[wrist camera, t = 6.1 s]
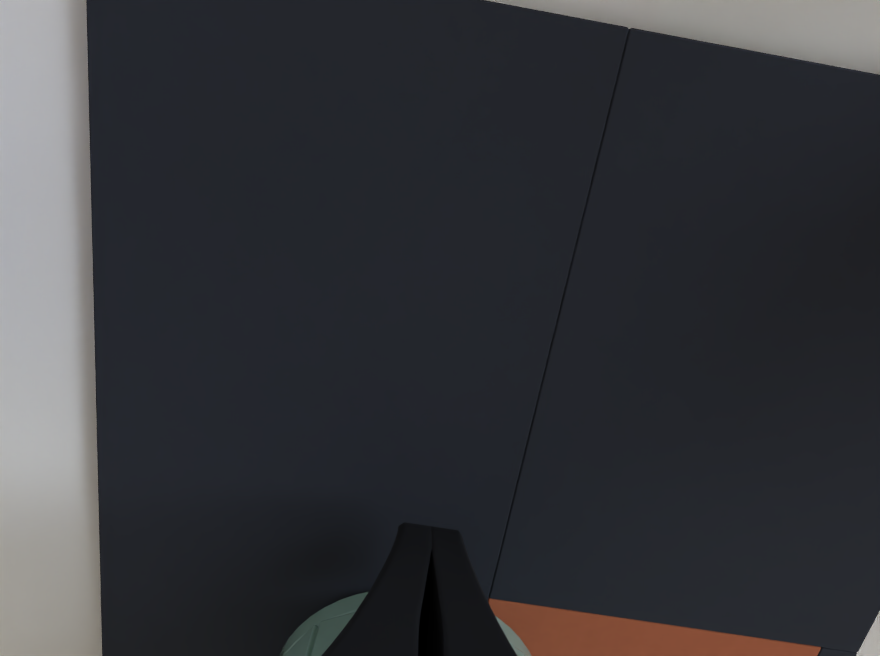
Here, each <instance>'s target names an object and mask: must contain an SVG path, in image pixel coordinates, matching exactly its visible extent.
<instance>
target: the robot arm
mask: <svg viewBox="0 0 880 656" xmlns="http://www.w3.org/2000/svg"><path fill="white" fill-rule="evenodd" d="M321 656H517V654H516V653H515V651H514V649H513V648H512V646H511V644H510V642H509V641H508V639H507V637H506V635H505V634H504V632H503V630H502V628H501V626H500V624H499V623H498V621H497V619H496V617H495V615H494V613H493V611H492V609H491V607H490V605H489V603H488V601H487V598H486V596H485V594H484V592H483V590H482V588H481V586H480V583H479V581H478V579H477V576H476V574H475V571H474V569H473V566H472V564H471V561H470V559H469V556H468V553H467V550H466V547H465V544H464V541H463V537H462V535H461V533H460V532H459V531H458V530H453V529H446V528H440V527H433V526H426V525H419V524H413V523H406V522H404V523H402V524H401V525H399V527H398V532H397V536H396V539H395V542H394V544H393V547H392V549H391V551H390V554H389V556H388V558H387V560H386V562H385V564H384V566H383V568H382V569H381V571H380V573H379V575H378V577H377V578H376V580H375V582H374V584H373V586H372V587H371V589H370V591H369V592H368V594H367V595H366V597H365V598H364V600H363V601H362V603H361V604H360V606H359V607H358V609H357V610H356V612H355V613H354V615H353V616H352V618H351V619H350V620H349V622H348V623H347V624H346V626H345V627H344V628H343V630H342V631H341V632H340V634H339V635H338V636H337V637H336V639H335V640H334V641H333V642H332V644H331V645H330V646H329V647H328V649H327V650H326V651H325V652H324V653H323V654H322V655H321Z"/></svg>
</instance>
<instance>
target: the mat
mask: <svg viewBox="0 0 880 656" xmlns="http://www.w3.org/2000/svg"><path fill="white" fill-rule="evenodd" d="M87 40H88V81H89V122H90V163H91V205H92V246H93V287H94V328H95V369H96V410H97V452H98V493H99V534H100V575H101V616H102V656H279V655H280V652H281V650H282V648H283V647H284V645H285V643H286V642H287V640H288V639H289V637H290V636H291V635H292V634H293V633H294V631H295V630H296V629H297V628H298V627H299V626H300V625H301V624H302V623H303V622H305V621H306V620H307V619H308V618H309V617H310V616H312V615H313V614H315V613H316V612H318V611H319V610H321V609H322V608H324V607H326V606H328V605H330V604H332V603H334V602H336V601H338V600H341V599H344V598H347V597H350V596H352V595H355V594H359V593H364V592H369V591H370V589H371V587H372V586H373V584H374V582H375V580H376V578H377V577H378V575H379V573H380V571H381V569H382V568H383V566H384V564H385V562H386V560H387V558H388V556H389V554H390V551H391V549H392V547H393V544H394V542H395V539H396V536H397V532H398V527H399V525H401V524H402V523H404V522H406V523H413V524H419V525H426V526H433V527H440V528H446V529H453V530H458V531H459V532H460V533H461V535H462V537H463V541H464V544H465V547H466V550H467V553H468V556H469V559H470V561H471V564H472V566H473V569H474V571H475V574H476V576H477V579H478V581H479V583H480V586H481V588H482V590H483V592H484V594H485V596H486V598H487V601H488V603H489V605H490V607H491V609H492V611H493V613H494V615H495V616H497V617H498V618H499V619H500V620H502V621H503V622H504V623H505V624H507V625H508V626H509V627H510V628H511V629H512V630H513V631H514V632H515V633H516V634H517V635H518V636H519V637H520V639H521V640H522V642H523V643H524V644H525V646H526V647H527V649H528V650H529V652H530V654H531V656H856V654H857V653H856V652H858V651H859V649H860V647H861V645H862V643H863V641H864V639H865V637H866V635H867V633H868V632H869V630H870V628H871V626H872V624H873V622H874V620H875V618H876V616H877V614H878V613H879V611H880V75H878V74H872V73H867V72H862V71H856V70H851V69H846V68H841V67H835V66H830V65H825V64H819V63H814V62H809V61H803V60H798V59H793V58H787V57H782V56H777V55H772V54H766V53H761V52H756V51H750V50H745V49H740V48H734V47H729V46H724V45H719V44H713V43H708V42H703V41H697V40H692V39H687V38H681V37H676V36H671V35H666V34H660V33H655V32H650V31H644V30H639V29H634V28H631V29H628V28H627V27H623V26H618V25H613V24H607V23H602V22H597V21H591V20H586V19H581V18H575V17H570V16H565V15H560V14H554V13H549V12H544V11H538V10H533V9H528V8H522V7H517V6H512V5H507V4H501V3H496V2H491V1H485V0H87Z"/></svg>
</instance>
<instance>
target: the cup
mask: <svg viewBox="0 0 880 656" xmlns="http://www.w3.org/2000/svg"><path fill="white" fill-rule="evenodd" d="M367 594H368V592H364V593H359V594H355V595H352V596H350V597H347V598H344V599H341V600H338V601H336V602H334V603H332V604H330V605H328V606H326V607H324V608H322V609H321V610H319V611H318V612H316V613H315V614H313V615H312V616H310V617H309V618H308V619H307V620H306V621H305V622H303V623H302V624H301V625H300V626H299V627H298V628H297V629H296V630H295V631H294V633H293V634H292V635H291V636H290V637H289V639H288V640H287V642H286V643H285V645H284V647H283V648H282V650H281V652H280V655H279V656H321V655H322V654H323V653H324V652H325V651H326V650H327V649H328V647H329V646H330V645H331V644H332V642H333V641H334V640H335V639H336V637H337V636H338V635H339V634H340V632H341V631H342V630H343V628H344V627H345V626H346V624H347V623H348V622H349V620H350V619H351V618H352V616H353V615H354V613H355V612H356V610H357V609H358V607H359V606H360V604H361V603H362V601H363V600H364V598H365V597H366V595H367ZM495 617H496V619H497V621H498V623H499V624H500V626H501V628H502V630H503V632H504V634H505V635H506V637H507V639H508V641H509V642H510V644H511V646H512V648H513V649H514V651H515V653H516V654H517V656H531V654H530V652H529V650H528V649H527V647H526V646H525V644H524V643H523V642H522V640H521V639H520V637H519V636H518V635H517V634H516V633H515V632H514V631H513V630H512V629H511V628H510V627H509V626H508V625H507V624H505V623H504V622H503V621H502V620H500V619H499V618H498V617H497V616H495Z"/></svg>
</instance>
